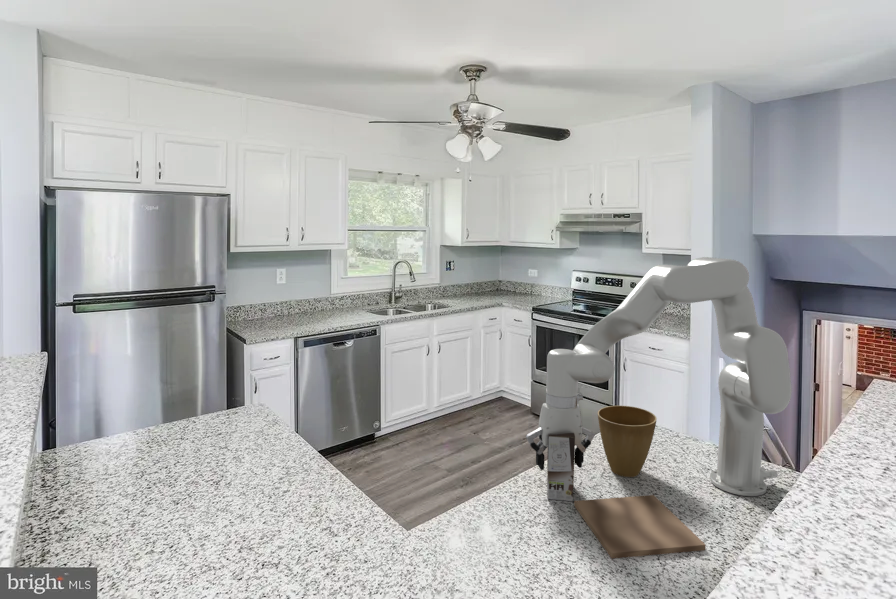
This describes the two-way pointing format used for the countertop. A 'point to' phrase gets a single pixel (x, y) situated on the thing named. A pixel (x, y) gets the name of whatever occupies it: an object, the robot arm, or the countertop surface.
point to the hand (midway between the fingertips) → (559, 466)
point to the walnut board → (637, 527)
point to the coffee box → (560, 466)
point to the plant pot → (626, 437)
